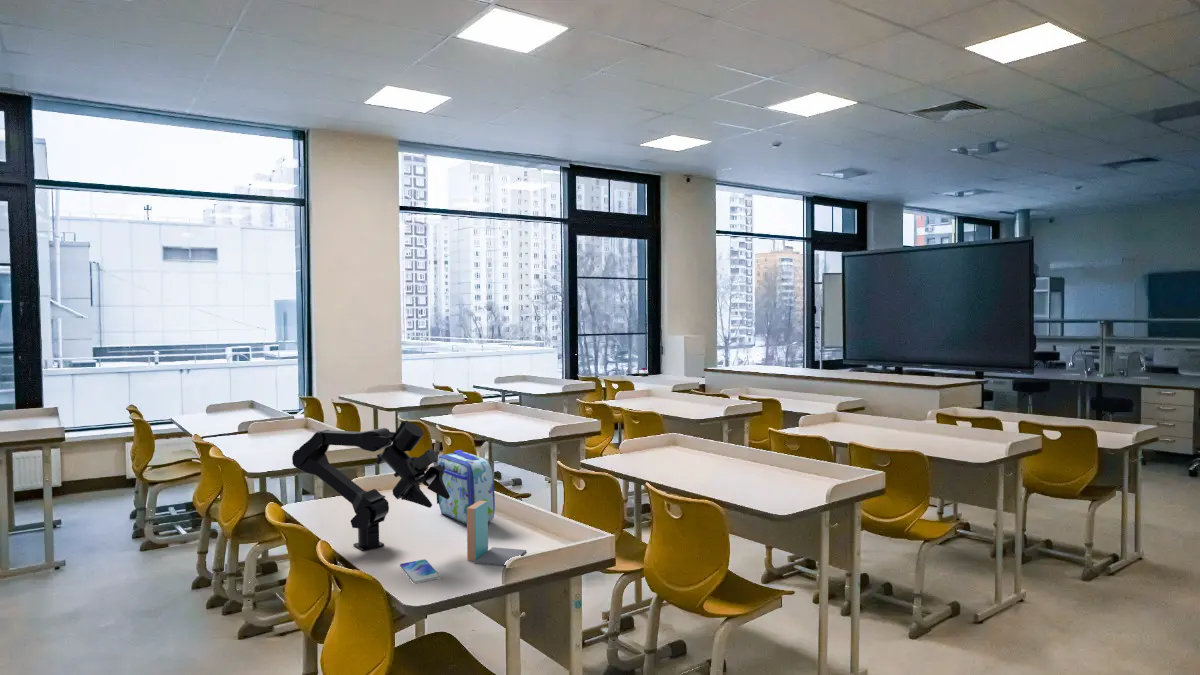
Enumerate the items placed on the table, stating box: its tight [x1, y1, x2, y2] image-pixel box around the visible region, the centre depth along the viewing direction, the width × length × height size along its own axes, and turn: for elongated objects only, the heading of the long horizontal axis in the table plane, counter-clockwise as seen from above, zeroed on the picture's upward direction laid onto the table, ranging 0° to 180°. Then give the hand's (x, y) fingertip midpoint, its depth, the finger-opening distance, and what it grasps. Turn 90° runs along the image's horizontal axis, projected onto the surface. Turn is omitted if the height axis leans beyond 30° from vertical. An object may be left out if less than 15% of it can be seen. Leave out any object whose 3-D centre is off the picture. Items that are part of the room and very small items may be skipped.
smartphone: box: [399, 558, 442, 584], centre depth 189 cm, size 7×1×15 cm
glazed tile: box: [466, 501, 489, 562], centre depth 201 cm, size 2×8×14 cm, turn 165°
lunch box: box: [436, 449, 496, 525], centre depth 237 cm, size 26×11×21 cm, turn 35°
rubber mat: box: [474, 546, 527, 567], centre depth 199 cm, size 10×12×1 cm
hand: (440, 502), depth 201 cm, fingers open, 9 cm apart
